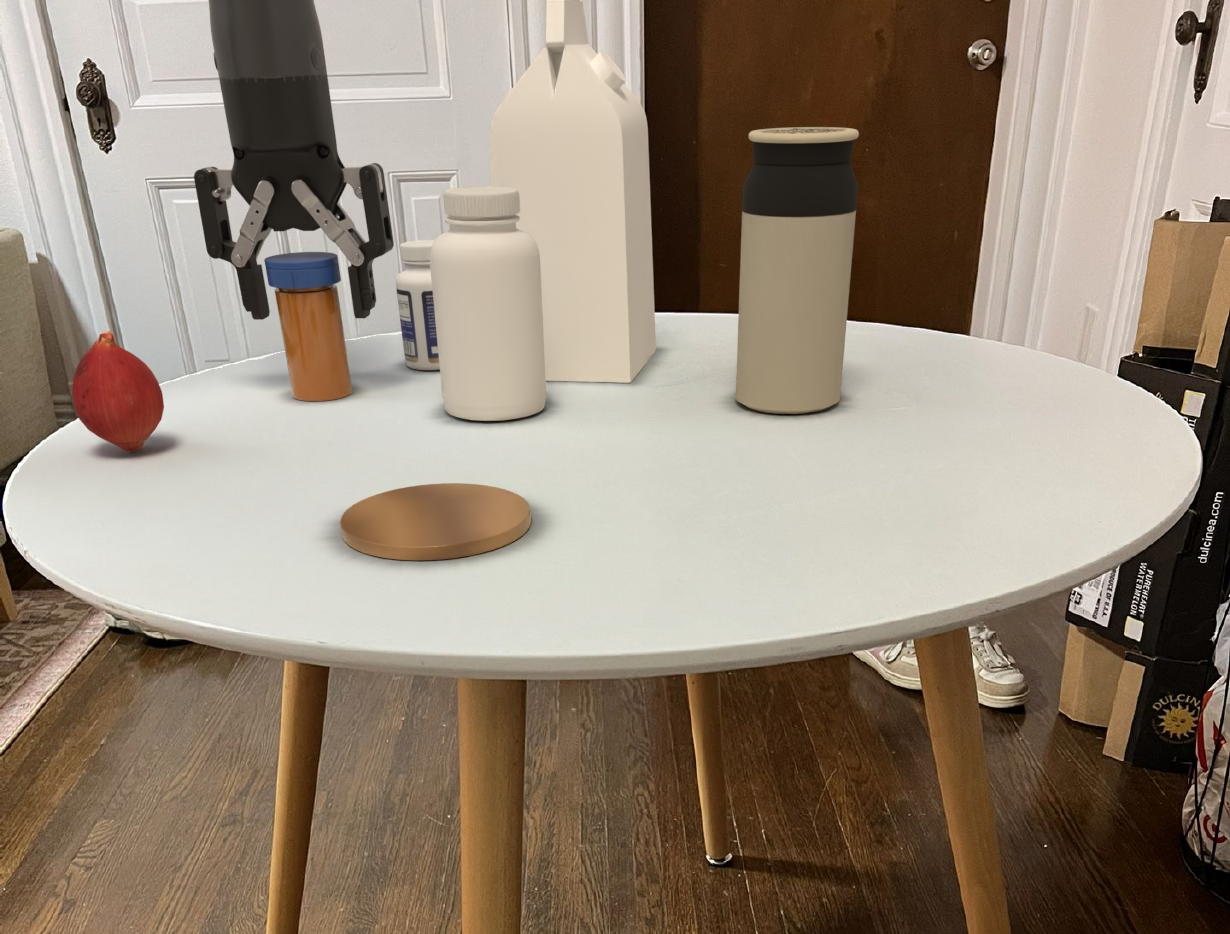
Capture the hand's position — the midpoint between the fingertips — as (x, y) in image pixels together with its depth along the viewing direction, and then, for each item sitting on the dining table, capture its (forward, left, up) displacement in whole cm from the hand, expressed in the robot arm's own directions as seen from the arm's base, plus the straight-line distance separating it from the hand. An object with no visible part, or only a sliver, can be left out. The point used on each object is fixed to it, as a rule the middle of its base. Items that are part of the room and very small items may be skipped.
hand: (311, 317), depth 91 cm
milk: (+22, -4, -6) cm, 23 cm away
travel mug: (+28, -25, -6) cm, 38 cm away
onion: (-17, -7, -6) cm, 19 cm away
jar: (0, 0, -6) cm, 6 cm away
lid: (0, 0, +4) cm, 4 cm away
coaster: (-6, -34, -6) cm, 35 cm away
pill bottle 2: (+9, -13, -6) cm, 17 cm away
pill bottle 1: (+12, +4, -6) cm, 14 cm away
